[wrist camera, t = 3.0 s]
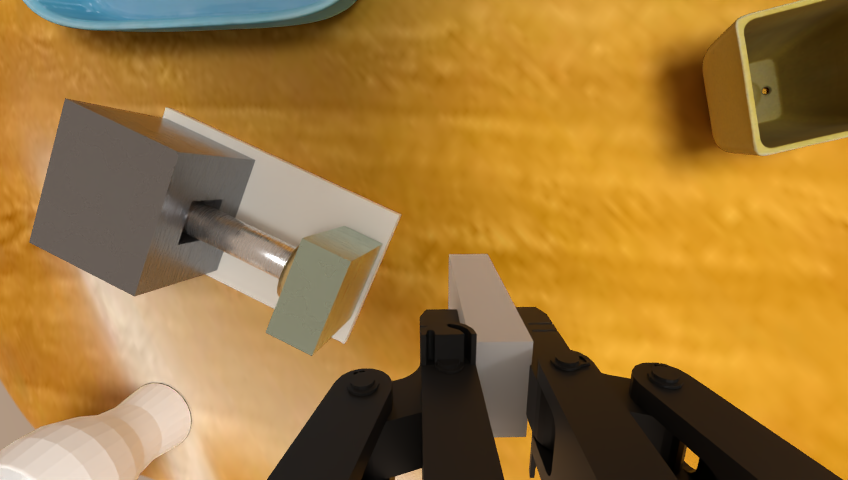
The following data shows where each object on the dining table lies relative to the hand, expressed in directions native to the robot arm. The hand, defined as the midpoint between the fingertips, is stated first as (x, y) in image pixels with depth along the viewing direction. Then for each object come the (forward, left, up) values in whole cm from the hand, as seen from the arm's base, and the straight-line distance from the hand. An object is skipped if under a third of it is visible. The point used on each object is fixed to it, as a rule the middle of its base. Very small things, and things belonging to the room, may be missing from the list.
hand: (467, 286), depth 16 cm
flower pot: (-5, +23, -23) cm, 33 cm away
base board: (-6, -21, -23) cm, 31 cm away
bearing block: (-11, -27, -22) cm, 36 cm away
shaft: (-4, -18, -21) cm, 28 cm away
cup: (+11, -40, -23) cm, 47 cm away
